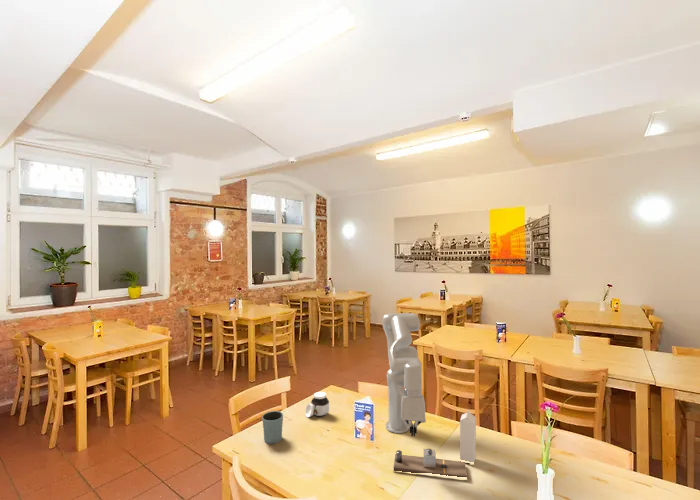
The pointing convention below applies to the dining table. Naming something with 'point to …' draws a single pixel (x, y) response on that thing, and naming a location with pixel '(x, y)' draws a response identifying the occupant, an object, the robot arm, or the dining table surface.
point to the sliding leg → (429, 458)
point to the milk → (468, 437)
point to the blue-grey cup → (272, 426)
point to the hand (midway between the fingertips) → (413, 434)
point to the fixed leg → (399, 456)
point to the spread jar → (318, 405)
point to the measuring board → (417, 466)
